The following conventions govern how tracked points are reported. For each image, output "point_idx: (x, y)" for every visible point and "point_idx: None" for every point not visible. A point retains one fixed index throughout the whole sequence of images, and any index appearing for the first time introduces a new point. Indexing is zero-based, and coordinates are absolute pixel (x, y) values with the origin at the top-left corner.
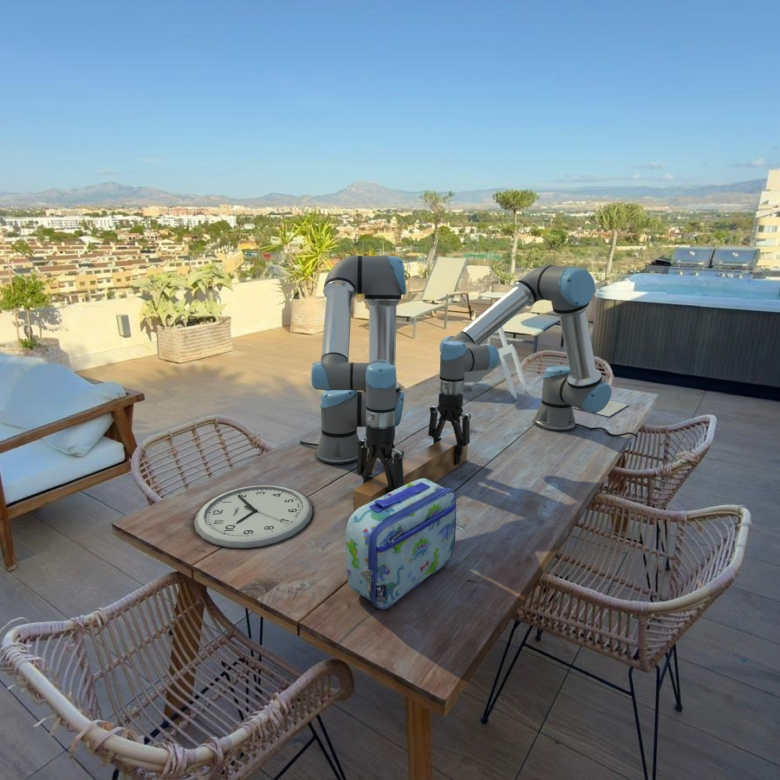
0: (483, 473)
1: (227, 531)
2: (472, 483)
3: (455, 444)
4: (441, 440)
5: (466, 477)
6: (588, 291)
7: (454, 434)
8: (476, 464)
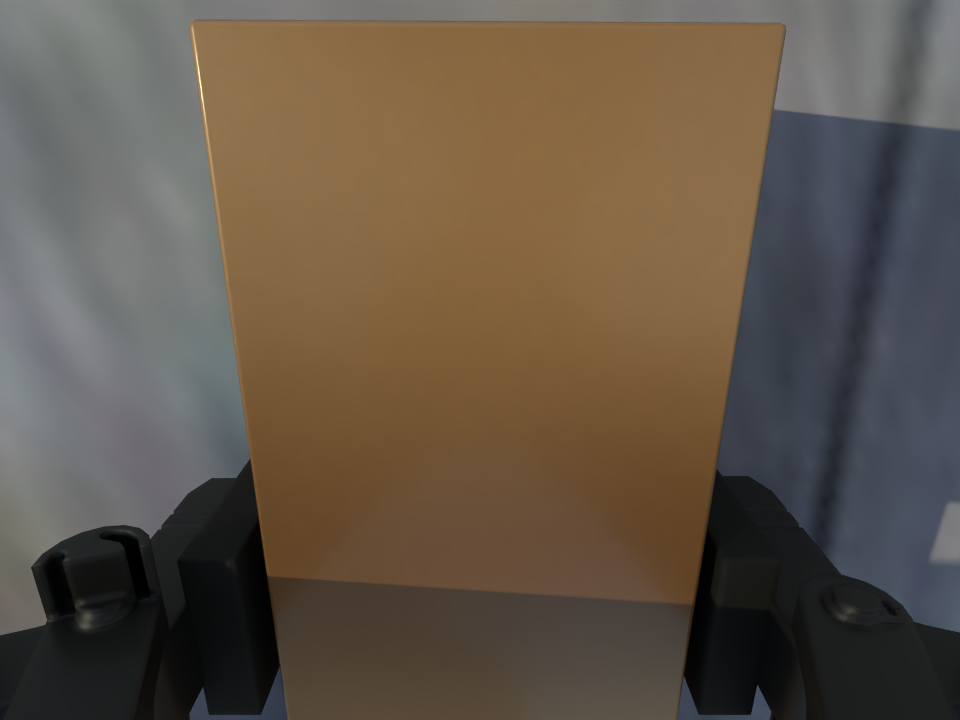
0: (942, 307)
1: None
2: (887, 570)
3: (678, 658)
4: (310, 658)
5: (790, 502)
6: None
7: (310, 112)
8: (782, 118)
